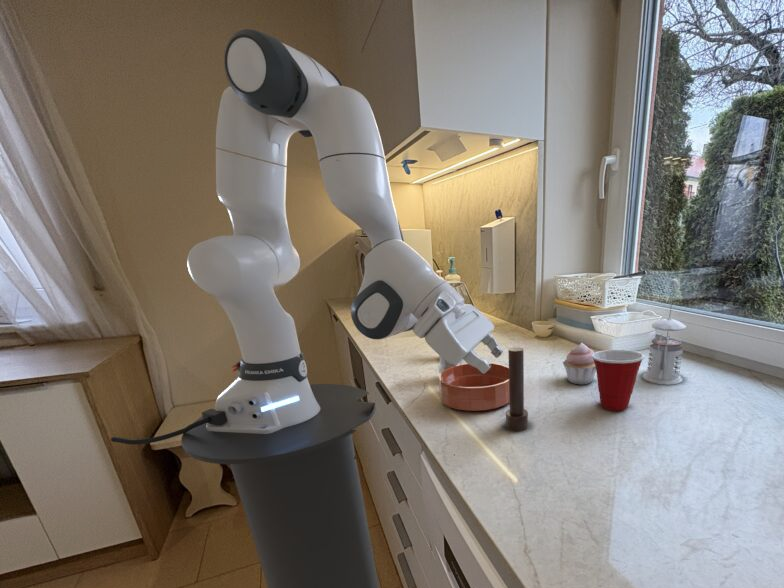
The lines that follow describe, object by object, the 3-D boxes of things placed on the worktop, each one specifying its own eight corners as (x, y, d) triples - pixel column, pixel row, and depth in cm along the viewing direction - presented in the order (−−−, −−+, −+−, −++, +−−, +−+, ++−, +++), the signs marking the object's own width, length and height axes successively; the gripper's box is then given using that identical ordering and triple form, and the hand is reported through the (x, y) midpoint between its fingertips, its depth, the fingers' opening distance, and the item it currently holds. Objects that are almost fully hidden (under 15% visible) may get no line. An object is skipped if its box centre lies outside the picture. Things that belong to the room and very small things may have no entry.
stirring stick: (506, 431, 80) (504, 352, 74) (505, 421, 84) (503, 346, 78) (529, 430, 80) (528, 352, 74) (526, 420, 84) (526, 345, 78)
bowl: (437, 415, 87) (434, 389, 85) (444, 386, 103) (442, 363, 101) (517, 412, 88) (517, 386, 86) (512, 383, 104) (512, 361, 102)
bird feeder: (684, 374, 108) (698, 277, 99) (679, 389, 98) (693, 283, 89) (646, 369, 112) (656, 275, 103) (637, 383, 103) (647, 281, 94)
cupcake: (586, 372, 111) (588, 336, 107) (605, 383, 103) (608, 345, 99) (555, 377, 108) (556, 340, 104) (573, 389, 100) (574, 349, 96)
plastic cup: (621, 393, 97) (625, 344, 93) (649, 411, 87) (655, 357, 83) (580, 399, 94) (582, 349, 89) (604, 419, 84) (608, 363, 80)
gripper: (451, 310, 87) (497, 356, 89) (408, 334, 69) (467, 392, 70) (469, 289, 85) (517, 337, 86) (430, 308, 66) (491, 368, 68)
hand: (494, 362), depth 78 cm, fingers open, 8 cm apart
